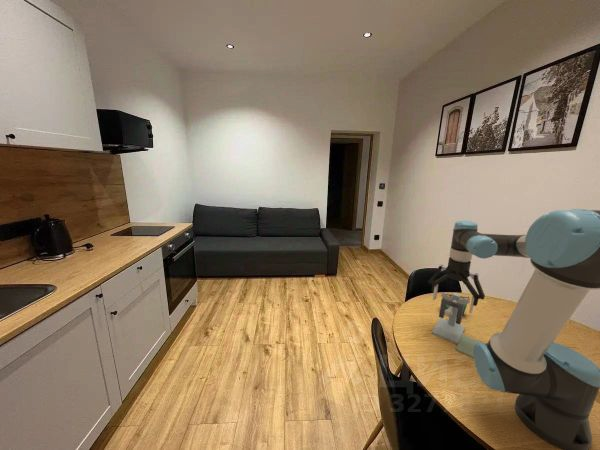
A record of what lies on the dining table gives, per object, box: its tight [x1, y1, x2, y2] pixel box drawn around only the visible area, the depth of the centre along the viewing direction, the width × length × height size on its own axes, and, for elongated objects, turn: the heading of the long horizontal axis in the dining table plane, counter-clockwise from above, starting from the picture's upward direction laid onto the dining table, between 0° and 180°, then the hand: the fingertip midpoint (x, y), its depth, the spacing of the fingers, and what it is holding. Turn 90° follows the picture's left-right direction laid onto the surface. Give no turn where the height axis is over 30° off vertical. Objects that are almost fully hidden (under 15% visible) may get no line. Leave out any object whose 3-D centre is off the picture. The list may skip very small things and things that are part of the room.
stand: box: [431, 292, 466, 346], centre depth 105 cm, size 15×10×16 cm
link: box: [438, 297, 464, 325], centre depth 103 cm, size 2×8×9 cm, turn 46°
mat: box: [455, 333, 482, 359], centre depth 97 cm, size 12×10×1 cm
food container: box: [440, 292, 471, 318], centre depth 118 cm, size 12×6×10 cm, turn 72°
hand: (451, 305), depth 103 cm, fingers open, 13 cm apart
